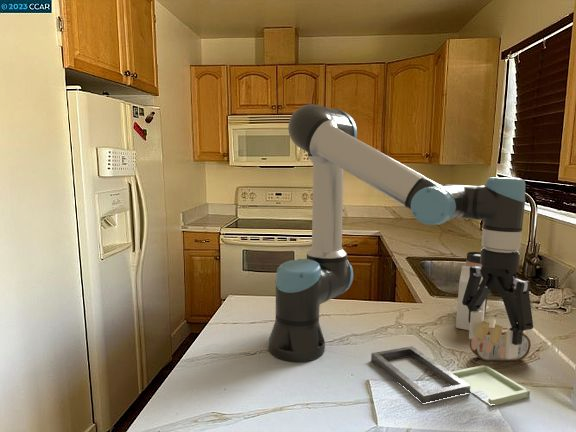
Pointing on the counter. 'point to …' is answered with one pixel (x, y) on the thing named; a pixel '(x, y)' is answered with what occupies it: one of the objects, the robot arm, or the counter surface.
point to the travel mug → (474, 263)
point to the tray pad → (492, 384)
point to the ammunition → (494, 338)
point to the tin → (494, 353)
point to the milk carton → (462, 309)
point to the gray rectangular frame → (444, 374)
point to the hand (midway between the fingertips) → (491, 347)
